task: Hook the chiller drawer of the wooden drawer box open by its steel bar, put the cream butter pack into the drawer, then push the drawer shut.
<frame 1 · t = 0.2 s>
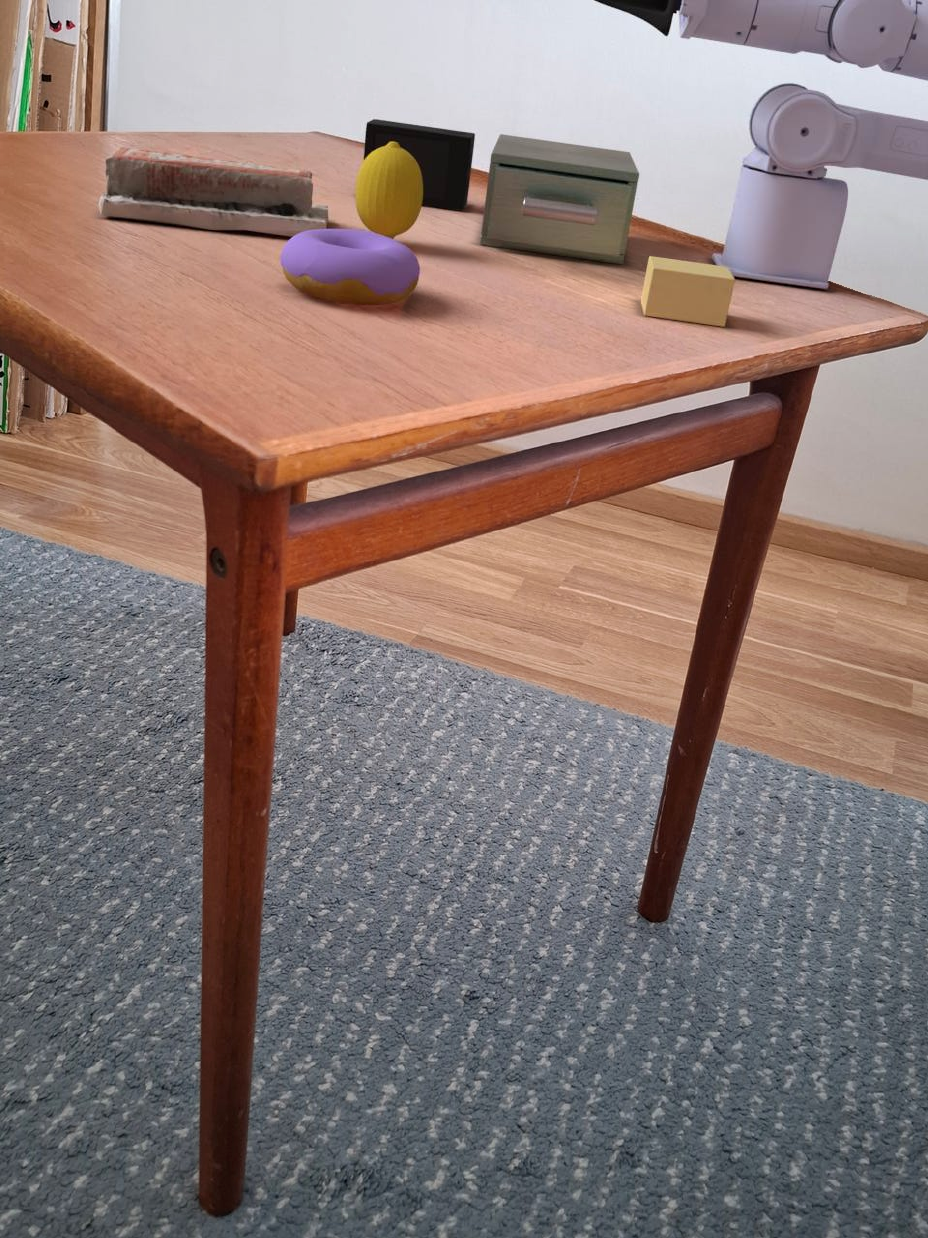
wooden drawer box: (552, 238, 111), on the table
butter pack: (681, 314, 90), on the table
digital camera: (415, 202, 121), on the table
donut: (348, 295, 83), on the table
lemon: (384, 245, 100), on the table
chiller drawer: (558, 203, 105), point 4 cm above the table, slide at 0.5 cm
weathered stone block: (218, 222, 100), on the table
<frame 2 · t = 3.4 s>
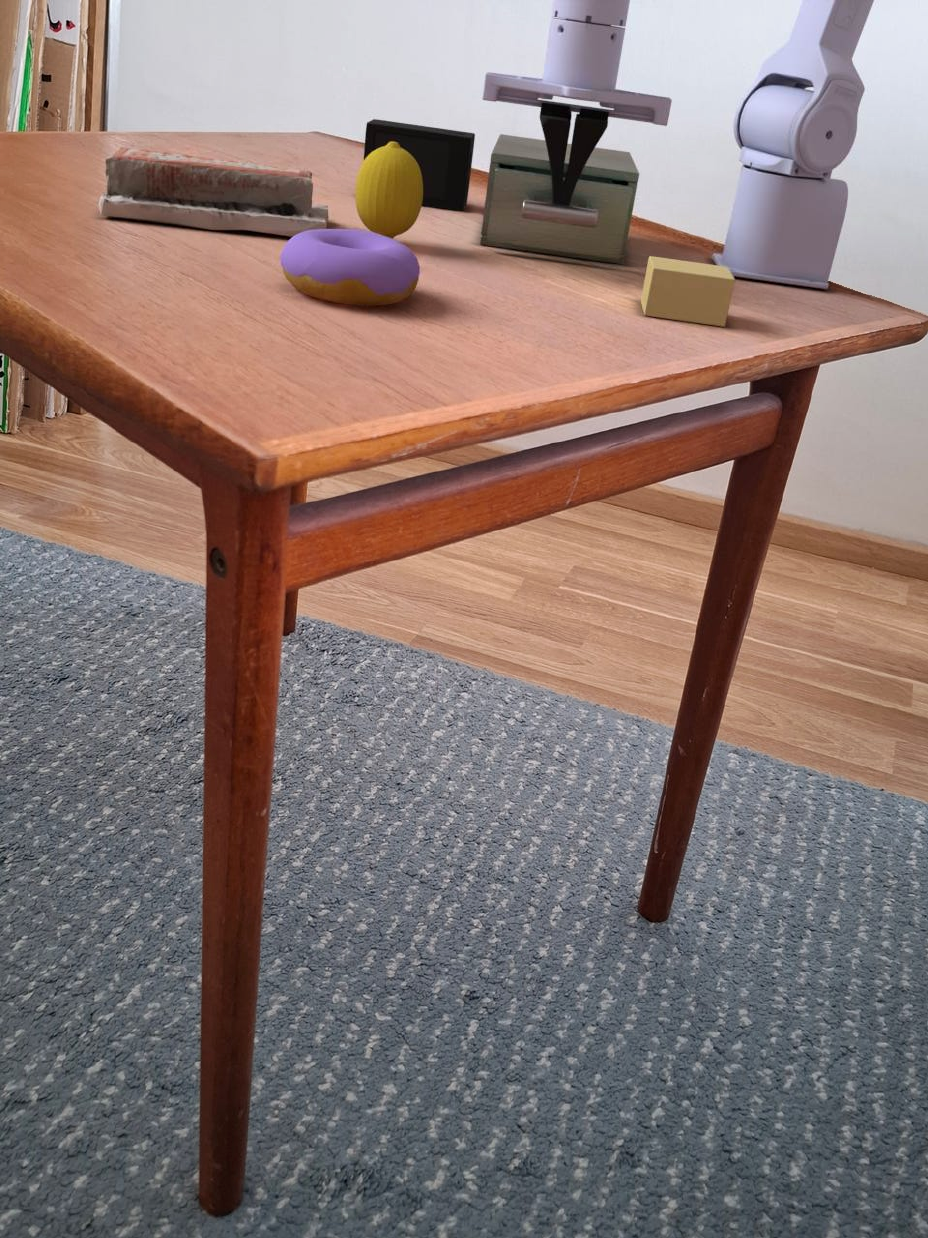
hand: (559, 208, 97), 5 cm above the table, tool pointing down, fingers closed, pressing on chiller drawer
chiller drawer: (558, 206, 104), point 4 cm above the table, slide at 1.8 cm, touching gripper
everything else where it was.
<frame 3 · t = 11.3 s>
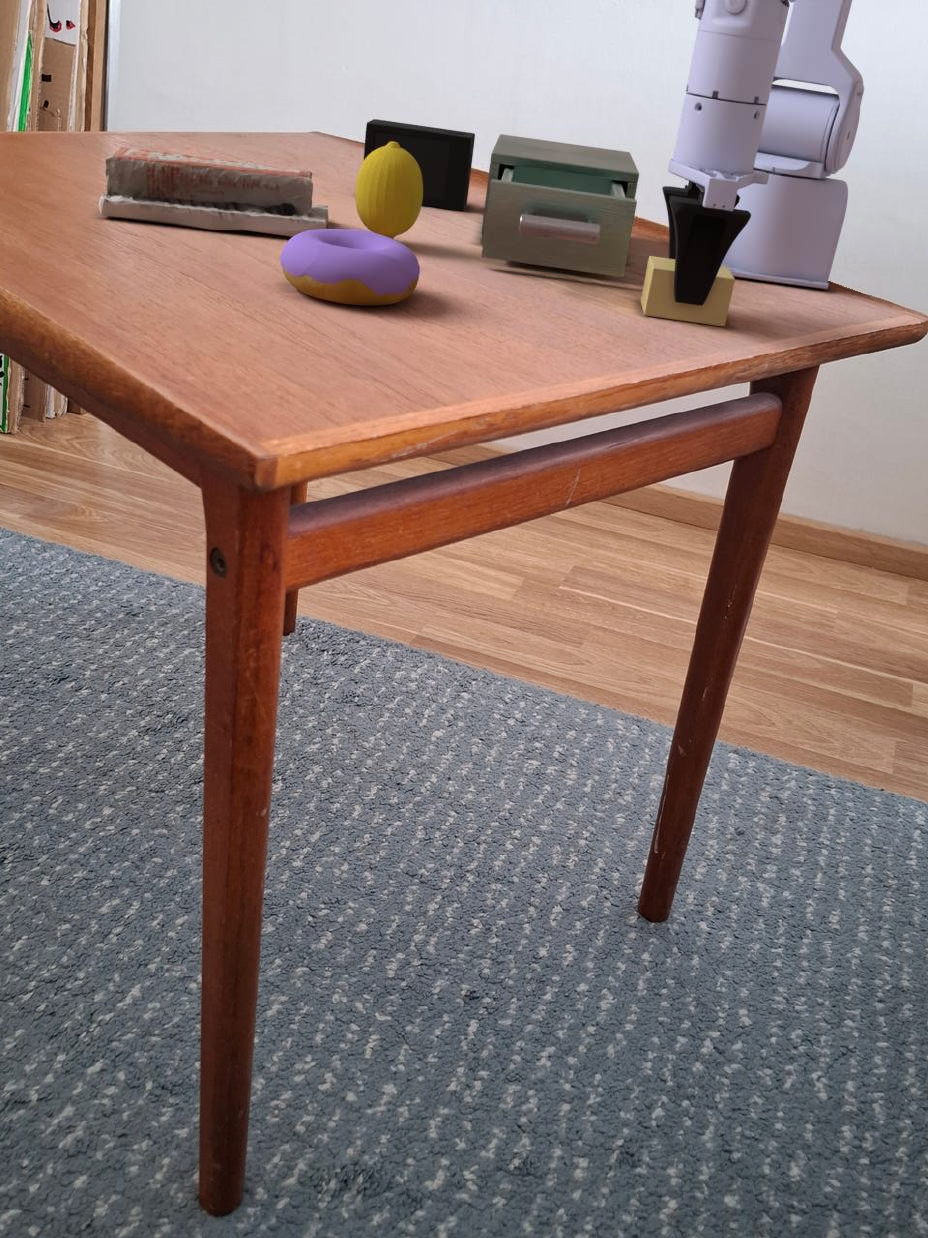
hand: (685, 295, 89), 1 cm above the table, tool pointing down, fingers closed on butter pack, 4 cm apart
butter pack: (681, 314, 90), on the table, touching gripper
chiller drawer: (558, 219, 98), point 4 cm above the table, slide at 8.9 cm
everything else where it was.
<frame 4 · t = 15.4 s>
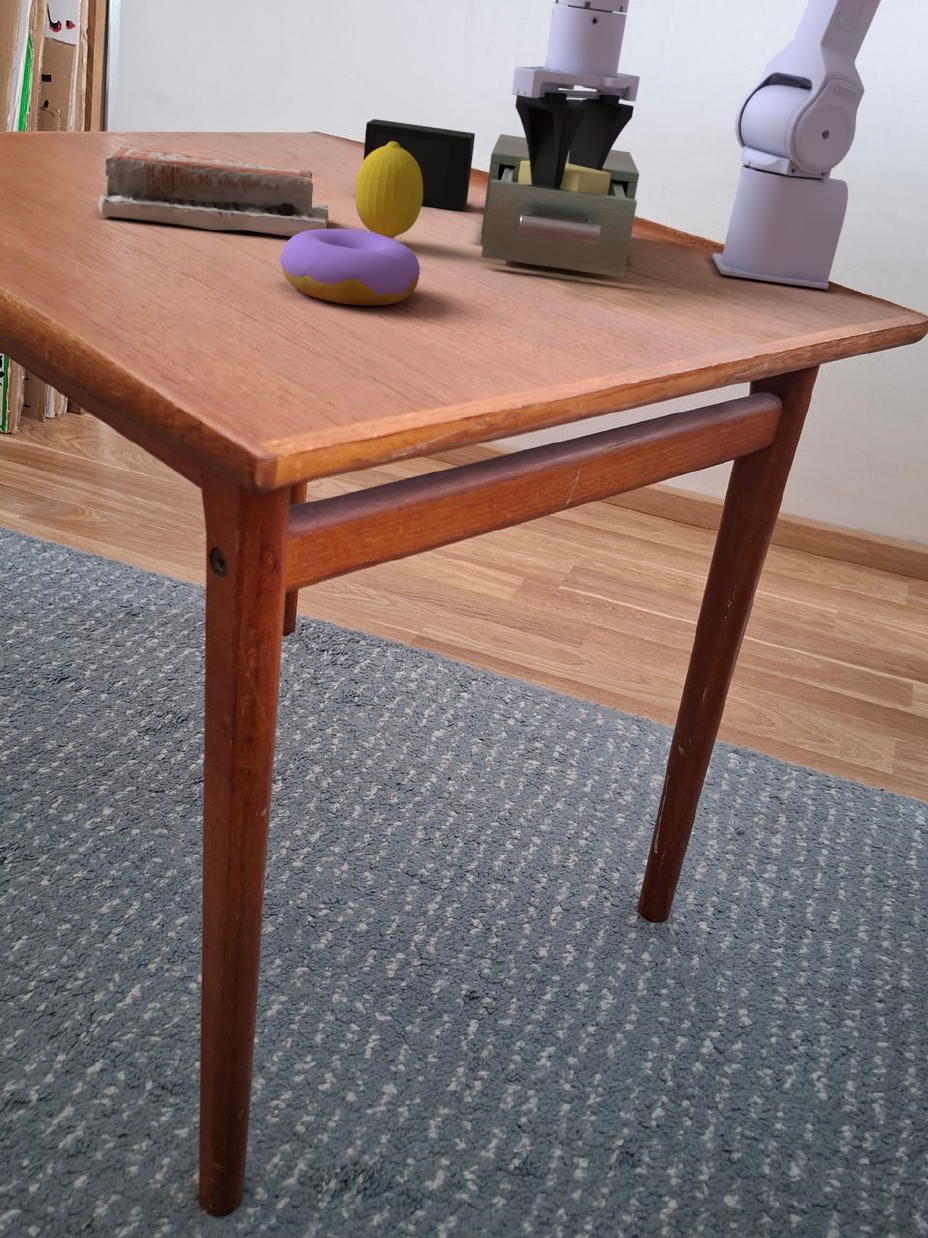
hand: (562, 193, 98), 6 cm above the table, tool pointing down, fingers closed on butter pack, 4 cm apart
butter pack: (559, 211, 99), point 4 cm above the table, touching gripper
everything else where it was.
when the fingers open (6 cm above the table, at t = 18.1 s): butter pack drops 2 cm, resting on chiller drawer.
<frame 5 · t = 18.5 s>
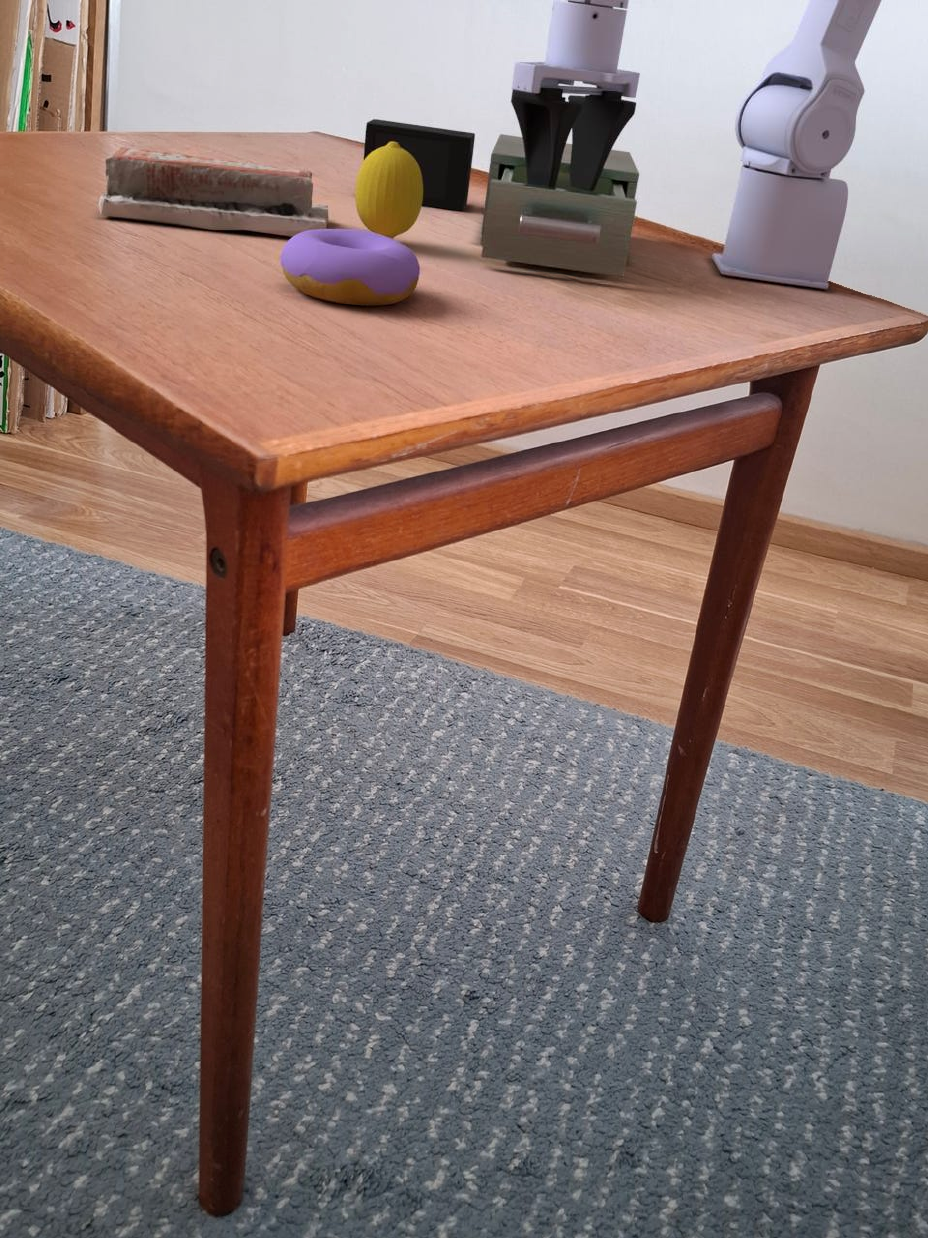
hand: (561, 189, 98), 6 cm above the table, tool pointing down, fingers open, 5 cm apart
butter pack: (554, 238, 100), point 2 cm above the table, touching chiller drawer
chiller drawer: (558, 219, 98), point 4 cm above the table, slide at 8.9 cm, touching butter pack
everything else where it was.
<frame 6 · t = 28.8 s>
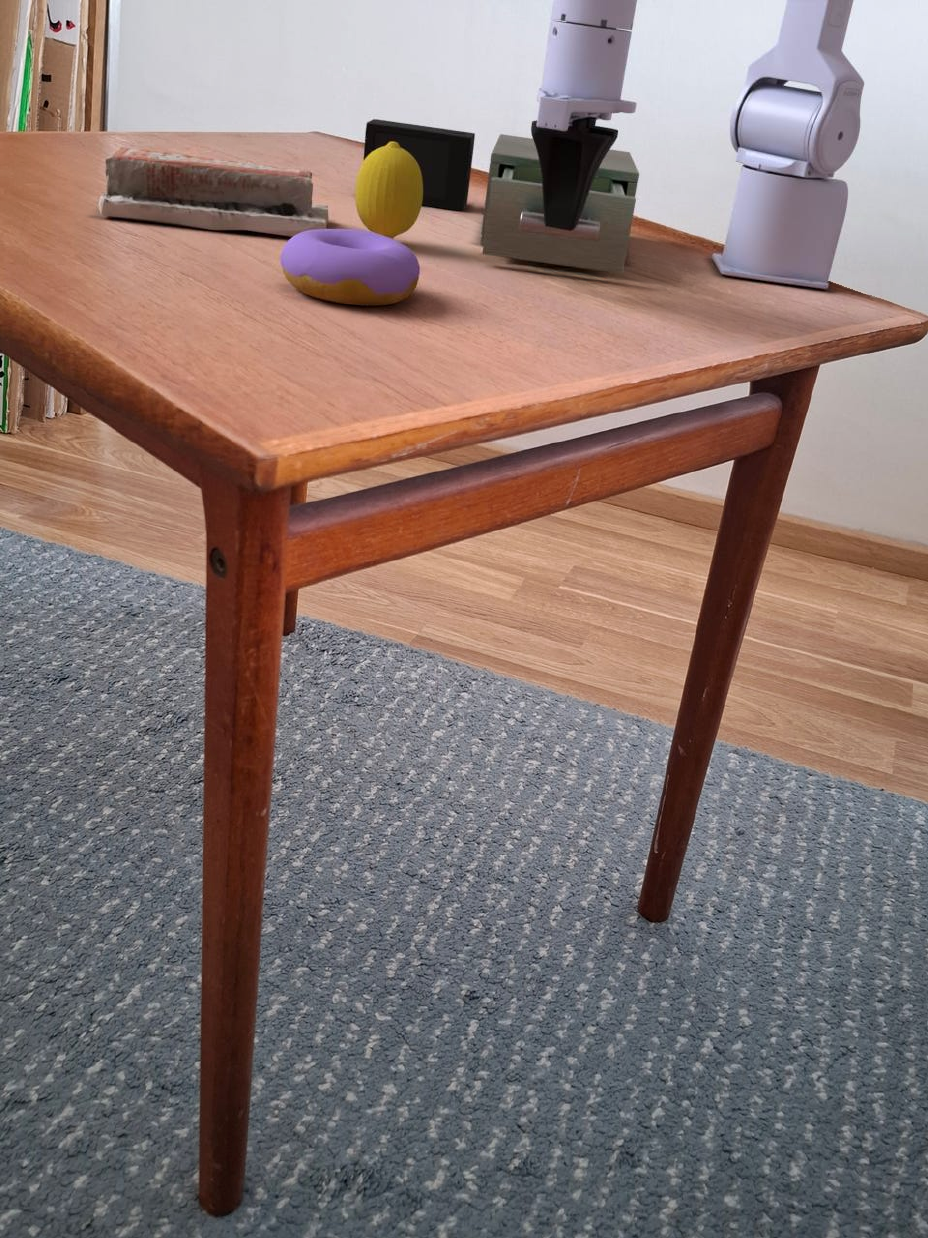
hand: (559, 227, 89), 5 cm above the table, tool pointing down, fingers closed
butter pack: (554, 235, 101), point 2 cm above the table, touching chiller drawer
chiller drawer: (558, 217, 99), point 4 cm above the table, slide at 7.6 cm, touching butter pack, gripper
everything else where it was.
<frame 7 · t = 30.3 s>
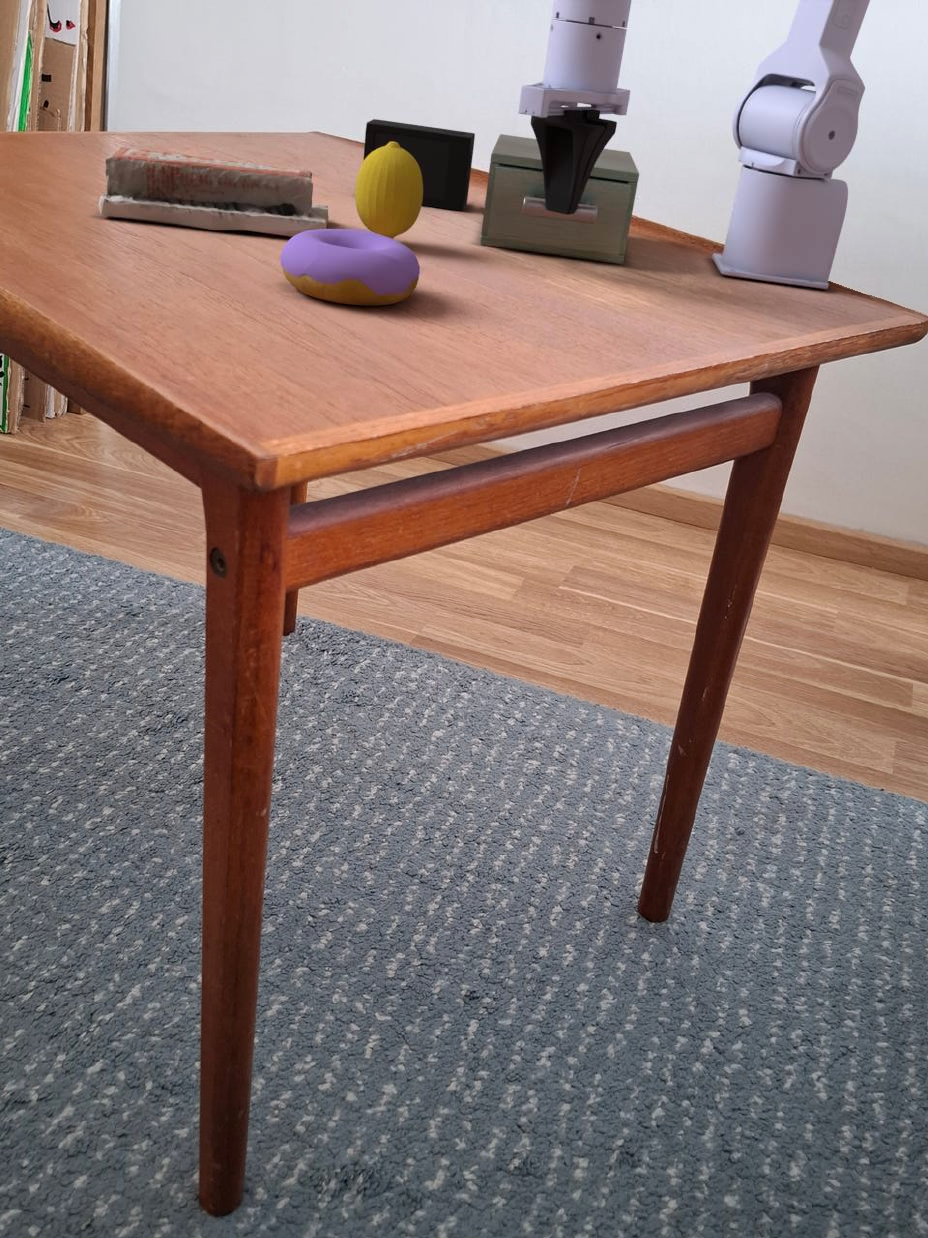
hand: (560, 211, 96), 5 cm above the table, tool pointing down, fingers closed, pressing on chiller drawer
butter pack: (554, 221, 108), point 2 cm above the table, touching chiller drawer
chiller drawer: (558, 203, 106), point 4 cm above the table, slide at 0.0 cm, touching butter pack, gripper, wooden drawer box
everything else where it was.
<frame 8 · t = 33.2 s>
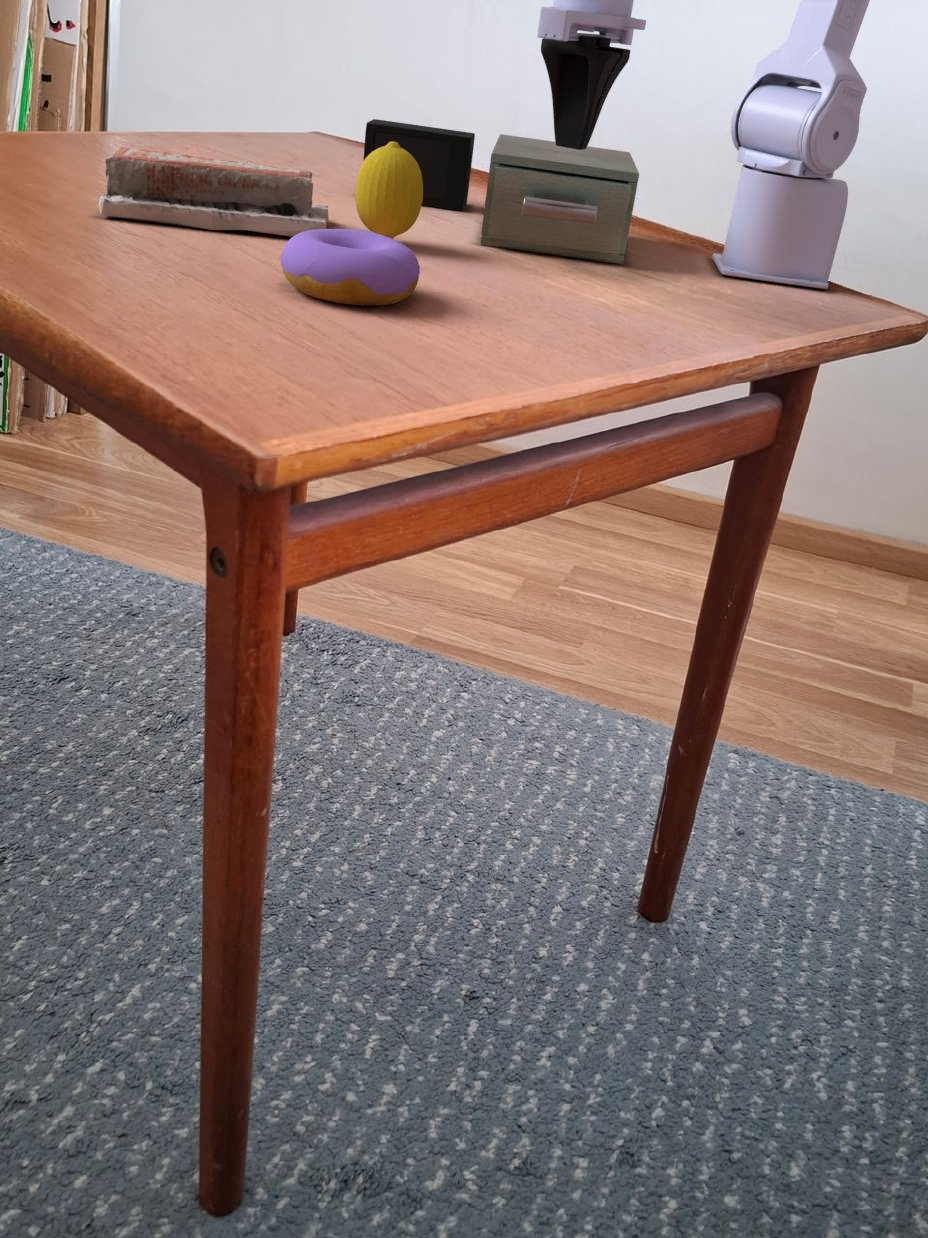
hand: (570, 147, 91), 10 cm above the table, tool pointing down, fingers closed
chiller drawer: (558, 203, 106), point 4 cm above the table, slide at 0.0 cm, touching butter pack, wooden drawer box
everything else where it was.
at the end: chiller drawer pulled out 8.9 cm at the most during the clip, back to where it started at the end; butter pack inside the target area in the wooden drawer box (2.5 cm from its centre), point 2.0 cm above the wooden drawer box's base; chiller drawer slide at 0.0 cm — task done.
